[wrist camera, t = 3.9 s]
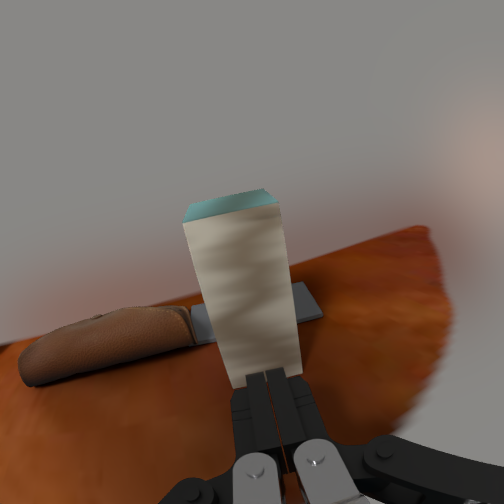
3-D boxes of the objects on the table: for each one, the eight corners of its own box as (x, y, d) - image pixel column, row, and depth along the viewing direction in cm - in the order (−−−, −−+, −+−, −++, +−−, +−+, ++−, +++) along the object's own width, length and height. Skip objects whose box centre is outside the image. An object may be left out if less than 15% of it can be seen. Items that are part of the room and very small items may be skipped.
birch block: (232, 388, 19) (182, 222, 15) (228, 346, 24) (190, 204, 19) (302, 373, 19) (278, 201, 15) (287, 333, 24) (263, 188, 20)
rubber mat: (189, 346, 24) (187, 343, 24) (192, 309, 30) (191, 305, 30) (323, 316, 25) (322, 312, 25) (303, 284, 31) (302, 281, 31)
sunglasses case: (187, 301, 30) (171, 262, 25) (206, 361, 26) (192, 333, 21) (47, 343, 26) (13, 315, 21) (52, 400, 22) (12, 380, 17)
